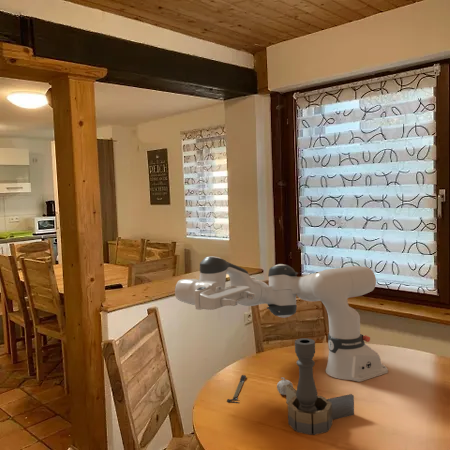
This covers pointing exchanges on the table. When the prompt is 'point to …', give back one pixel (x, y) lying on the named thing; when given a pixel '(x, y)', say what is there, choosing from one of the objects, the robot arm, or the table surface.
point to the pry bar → (237, 390)
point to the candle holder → (306, 374)
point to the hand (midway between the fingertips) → (245, 299)
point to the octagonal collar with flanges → (317, 412)
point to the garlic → (283, 386)
